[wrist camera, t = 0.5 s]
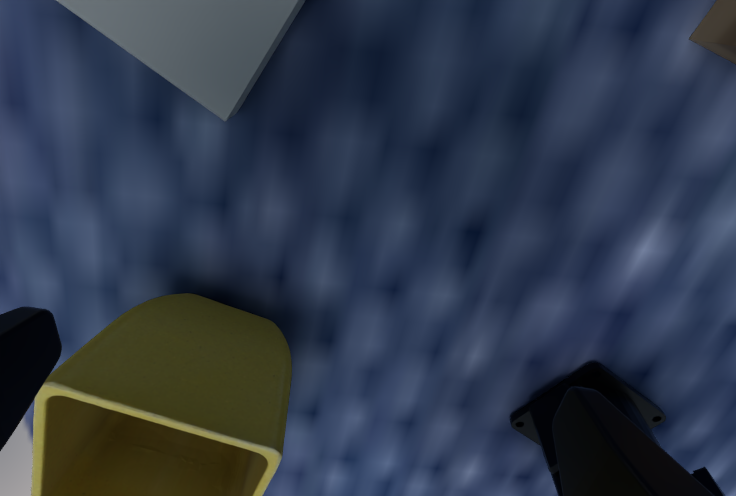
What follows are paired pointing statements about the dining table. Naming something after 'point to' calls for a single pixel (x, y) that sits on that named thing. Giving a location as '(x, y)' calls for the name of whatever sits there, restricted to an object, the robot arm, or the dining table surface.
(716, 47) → the walnut cube
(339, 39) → the dining table surface
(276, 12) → the slate plinth
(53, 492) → the flower pot
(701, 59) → the dining table surface
